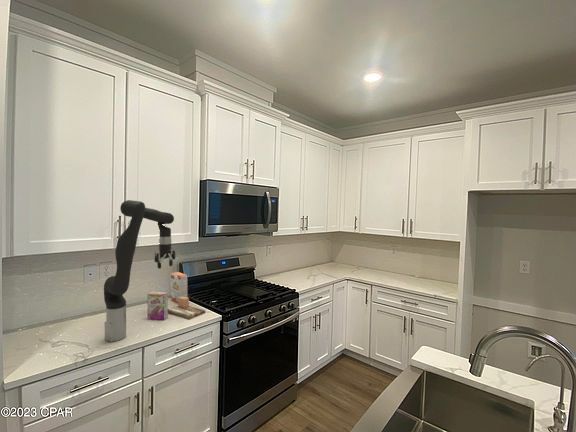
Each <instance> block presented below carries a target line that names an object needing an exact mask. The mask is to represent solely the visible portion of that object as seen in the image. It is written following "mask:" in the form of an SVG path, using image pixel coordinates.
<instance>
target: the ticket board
mask: <svg viewBox="0 0 576 432" xmlns="http://www.w3.org/2000/svg"><path fill="white" fill-rule="evenodd" d="M205 313H206V310H205V309H201V308H199V307H196V306H195V307H194V306H191V305H189V306H188V307H186V308H182V307H179V306H178V305H177V306H175V305H174V306H171V307H168V315H171V316H175V317H179V318H183V319H185V320H189V321H190V320H192V319H195V318H197V317H199V316H201V315H204V314H205Z"/></svg>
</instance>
